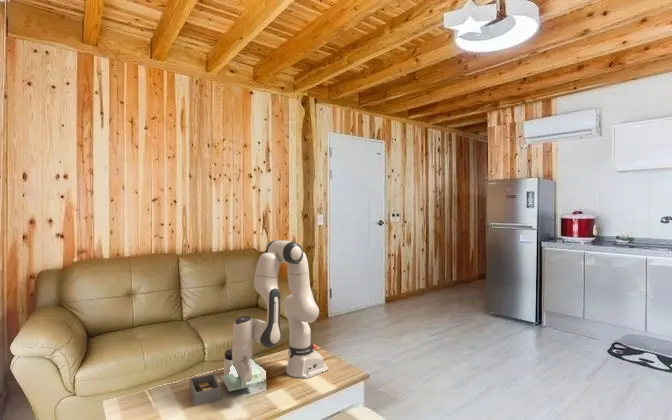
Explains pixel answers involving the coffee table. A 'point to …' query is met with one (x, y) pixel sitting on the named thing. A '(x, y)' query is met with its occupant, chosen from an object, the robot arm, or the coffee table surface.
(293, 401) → the coffee table surface
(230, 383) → the lid
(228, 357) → the jar
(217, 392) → the tub
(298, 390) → the coffee table surface
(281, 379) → the coffee table surface
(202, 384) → the part
